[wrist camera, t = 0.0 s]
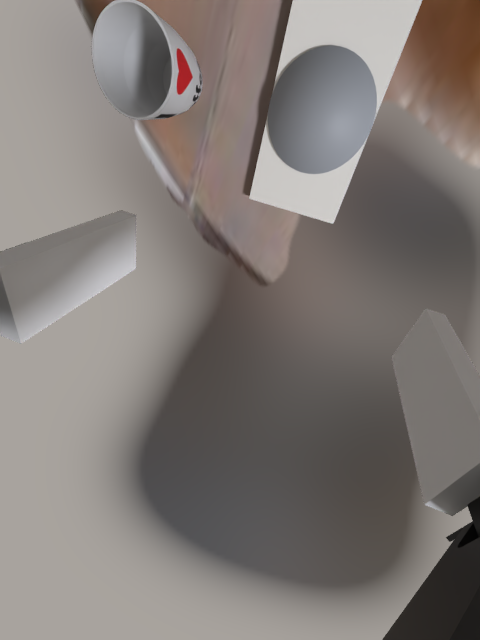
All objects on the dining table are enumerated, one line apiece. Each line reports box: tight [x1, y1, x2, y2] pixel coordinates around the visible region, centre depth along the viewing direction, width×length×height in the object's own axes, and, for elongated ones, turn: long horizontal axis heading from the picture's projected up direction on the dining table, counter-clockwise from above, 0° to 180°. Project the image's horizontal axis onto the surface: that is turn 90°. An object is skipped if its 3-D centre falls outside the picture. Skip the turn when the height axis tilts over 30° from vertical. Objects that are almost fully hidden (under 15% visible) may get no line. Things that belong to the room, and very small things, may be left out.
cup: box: [92, 0, 202, 120], centre depth 30 cm, size 8×8×10 cm
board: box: [249, 0, 422, 224], centre depth 31 cm, size 20×11×2 cm, turn 168°
